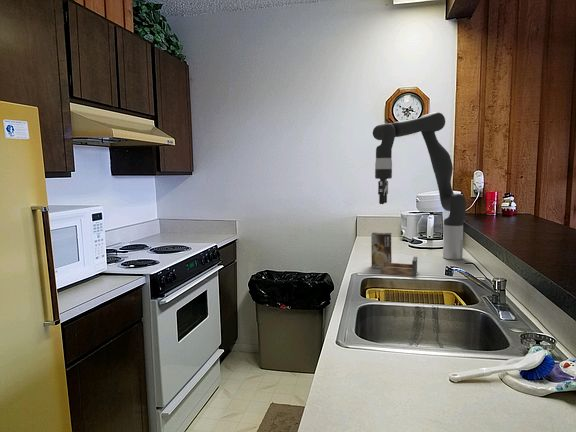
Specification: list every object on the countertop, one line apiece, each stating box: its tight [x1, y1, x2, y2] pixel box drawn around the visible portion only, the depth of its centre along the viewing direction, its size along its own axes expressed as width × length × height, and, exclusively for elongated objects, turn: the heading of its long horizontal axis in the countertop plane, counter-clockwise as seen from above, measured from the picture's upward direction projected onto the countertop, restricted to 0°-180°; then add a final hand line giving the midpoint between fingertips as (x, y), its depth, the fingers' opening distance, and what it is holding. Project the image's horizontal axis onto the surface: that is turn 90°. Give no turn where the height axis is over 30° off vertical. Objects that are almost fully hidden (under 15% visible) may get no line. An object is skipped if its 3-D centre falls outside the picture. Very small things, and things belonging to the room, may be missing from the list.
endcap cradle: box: [380, 256, 418, 277], centre depth 178 cm, size 14×9×7 cm, turn 69°
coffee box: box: [370, 232, 393, 269], centre depth 188 cm, size 9×6×16 cm
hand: (383, 203), depth 187 cm, fingers open, 8 cm apart
